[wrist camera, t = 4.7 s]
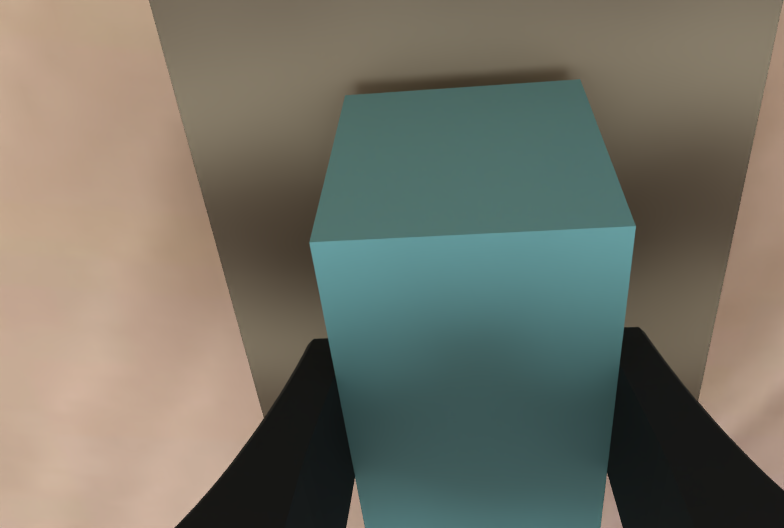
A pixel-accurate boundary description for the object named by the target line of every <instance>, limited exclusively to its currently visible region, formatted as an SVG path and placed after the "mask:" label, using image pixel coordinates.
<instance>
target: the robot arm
mask: <svg viewBox="0 0 784 528" xmlns="http://www.w3.org/2000/svg"><path fill="white" fill-rule="evenodd" d="M607 473H608V477H609V480H610V484H611V487H612V491H613V495H614V498H615V502H616V505H617V509H618V512H619V516H620V519H621V523H622V526H623V528H784V490H783V489H782V488H780V487H779V486H778V485H777V484H776V483H775V482H774V481H773V480H772V479H771V478H769V477H768V476H767V475H766V474H765V473H764V472H763V471H762V470H761V469H760V468H759V467H758V466H757V465H756V464H755V463H754V462H753V461H752V460H751V459H750V458H749V457H748V456H747V455H746V454H745V453H744V452H743V451H742V450H741V449H740V448H739V447H738V446H737V445H736V443H735V442H734V441H733V440H732V439H731V438H730V437H729V436H728V435H727V434H726V433H725V432H724V431H723V430H722V429H721V427H720V426H719V425H718V424H717V423H716V422H715V421H714V420H713V418H712V417H711V416H710V415H709V414H708V413H707V412H706V410H705V409H704V408H703V407H702V406H701V405H700V403H699V402H698V401H697V400H696V399H695V398H694V396H693V395H692V394H691V393H690V392H689V390H688V389H687V388H686V387H685V385H684V384H683V383H682V382H681V380H680V379H679V378H678V377H677V375H676V374H675V373H674V371H673V370H672V369H671V368H670V366H669V365H668V364H667V362H666V361H665V360H664V358H663V357H662V356H661V354H660V353H659V352H658V350H657V349H656V347H655V346H654V345H653V343H652V342H651V341H650V339H649V338H648V336H647V335H646V333H645V332H644V331H643V330H642V329H641V328H640V327H624V331H623V340H622V348H621V357H620V365H619V374H618V382H617V391H616V399H615V408H614V416H613V425H612V433H611V442H610V450H609V459H608V467H607ZM354 479H355V474H354V468H353V463H352V458H351V453H350V448H349V443H348V438H347V433H346V427H345V422H344V417H343V412H342V407H341V402H340V397H339V392H338V387H337V381H336V376H335V371H334V366H333V361H332V356H331V351H330V346H329V340H328V338H319V339H313V340H312V341H311V342H310V343H309V344H308V346H307V347H306V349H305V351H304V353H303V355H302V357H301V359H300V360H299V362H298V364H297V366H296V368H295V369H294V371H293V373H292V374H291V376H290V378H289V380H288V381H287V383H286V385H285V386H284V388H283V389H282V391H281V393H280V394H279V396H278V397H277V399H276V401H275V402H274V404H273V405H272V407H271V408H270V410H269V411H268V413H267V414H266V416H265V417H264V419H263V420H262V422H261V423H260V425H259V426H258V428H257V429H256V431H255V432H254V433H253V435H252V436H251V437H250V439H249V440H248V442H247V443H246V444H245V446H244V447H243V448H242V450H241V451H240V452H239V454H238V455H237V456H236V458H235V459H234V460H233V462H232V463H231V464H230V466H229V467H228V468H227V469H226V471H225V472H224V473H223V474H222V476H221V477H220V478H219V479H218V481H217V482H216V483H215V484H214V485H213V486H212V488H211V489H210V490H209V491H208V492H207V493H206V495H205V496H204V497H203V498H202V499H201V500H200V501H199V503H198V504H197V505H196V506H195V507H194V508H193V509H192V510H191V511H190V512H189V513H188V514H187V515H186V516H185V517H184V519H183V520H182V521H181V522H180V523H179V524H178V525H177V526H176V527H175V528H346V525H347V520H348V514H349V508H350V503H351V497H352V491H353V485H354Z"/></svg>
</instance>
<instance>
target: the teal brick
mask: <svg viewBox="0 0 784 528" xmlns="http://www.w3.org/2000/svg"><path fill="white" fill-rule="evenodd" d="M635 230H636V225H635V223H634V220H633V217H632V215H631V212H630V209H629V207H628V204H627V201H626V199H625V196H624V193H623V191H622V188H621V186H620V183H619V180H618V178H617V175H616V172H615V170H614V167H613V164H612V162H611V159H610V156H609V154H608V151H607V149H606V146H605V143H604V141H603V138H602V135H601V133H600V130H599V127H598V125H597V122H596V119H595V117H594V114H593V112H592V109H591V106H590V104H589V101H588V98H587V96H586V93H585V90H584V88H583V85H582V83H581V80H580V79H576V80H561V81H547V82H532V83H518V84H503V85H488V86H474V87H459V88H445V89H430V90H415V91H401V92H386V93H372V94H357V95H345V98H344V102H343V106H342V110H341V114H340V118H339V122H338V127H337V131H336V135H335V139H334V143H333V147H332V151H331V155H330V159H329V164H328V168H327V172H326V176H325V180H324V184H323V188H322V192H321V196H320V201H319V205H318V209H317V213H316V217H315V221H314V225H313V229H312V233H311V238H310V242H309V243H310V248H311V253H312V259H313V264H314V269H315V274H316V279H317V284H318V289H319V294H320V299H321V305H322V310H323V315H324V320H325V325H326V330H327V335H328V340H329V346H330V351H331V356H332V361H333V366H334V371H335V376H336V381H337V387H338V392H339V397H340V402H341V407H342V412H343V417H344V422H345V427H346V433H347V438H348V443H349V448H350V453H351V458H352V463H353V468H354V474H355V479H356V484H357V489H358V494H359V499H360V504H361V509H362V514H363V520H364V525H365V528H600V527H601V518H602V510H603V501H604V493H605V484H606V476H607V467H608V459H609V450H610V442H611V433H612V425H613V416H614V408H615V399H616V391H617V382H618V374H619V365H620V357H621V348H622V340H623V331H624V323H625V314H626V306H627V297H628V289H629V280H630V272H631V264H632V255H633V247H634V238H635Z"/></svg>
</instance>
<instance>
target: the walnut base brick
mask: <svg viewBox="0 0 784 528" xmlns="http://www.w3.org/2000/svg"><path fill="white" fill-rule="evenodd" d="M149 2H150V6H151V10H152V13H153V17H154V21H155V24H156V28H157V31H158V35H159V39H160V42H161V46H162V50H163V53H164V57H165V61H166V64H167V68H168V71H169V75H170V79H171V82H172V86H173V90H174V93H175V97H176V100H177V104H178V108H179V111H180V115H181V119H182V122H183V126H184V130H185V133H186V137H187V140H188V144H189V148H190V151H191V155H192V159H193V162H194V166H195V169H196V173H197V177H198V180H199V184H200V188H201V191H202V195H203V199H204V202H205V206H206V209H207V213H208V217H209V220H210V224H211V228H212V231H213V235H214V238H215V242H216V246H217V249H218V253H219V257H220V260H221V264H222V268H223V271H224V275H225V278H226V282H227V286H228V289H229V293H230V297H231V300H232V304H233V307H234V311H235V315H236V318H237V322H238V326H239V329H240V333H241V337H242V340H243V344H244V347H245V351H246V355H247V358H248V362H249V366H250V369H251V373H252V376H253V380H254V384H255V387H256V391H257V395H258V398H259V402H260V406H261V409H262V413H263V416H264V417H265V416H266V414H267V413H268V411H269V410H270V408H271V407H272V405H273V404H274V402H275V401H276V399H277V397H278V396H279V394H280V393H281V391H282V389H283V388H284V386H285V385H286V383H287V381H288V380H289V378H290V376H291V374H292V373H293V371H294V369H295V368H296V366H297V364H298V362H299V360H300V359H301V357H302V355H303V353H304V351H305V349H306V347H307V346H308V344H309V343H310V342H311V341H312V340H313V339H319V338H328V335H327V330H326V325H325V320H324V315H323V310H322V305H321V299H320V294H319V289H318V284H317V279H316V274H315V269H314V264H313V259H312V253H311V248H310V243H309V242H310V238H311V233H312V229H313V225H314V221H315V217H316V213H317V209H318V205H319V201H320V196H321V192H322V188H323V184H324V180H325V176H326V172H327V168H328V164H329V159H330V155H331V151H332V147H333V143H334V139H335V135H336V131H337V127H338V122H339V118H340V114H341V110H342V106H343V102H344V98H345V95H357V94H372V93H386V92H401V91H415V90H430V89H445V88H459V87H474V86H488V85H503V84H518V83H532V82H547V81H561V80H576V79H580V80H581V83H582V85H583V88H584V90H585V93H586V96H587V98H588V101H589V104H590V106H591V109H592V112H593V114H594V117H595V119H596V122H597V125H598V127H599V130H600V133H601V135H602V138H603V141H604V143H605V146H606V149H607V151H608V154H609V156H610V159H611V162H612V164H613V167H614V170H615V172H616V175H617V178H618V180H619V183H620V186H621V188H622V191H623V193H624V196H625V199H626V201H627V204H628V207H629V209H630V212H631V215H632V217H633V220H634V223H635V225H636V230H635V238H634V247H633V255H632V264H631V272H630V280H629V289H628V297H627V306H626V314H625V323H624V327H640V328H641V329H642V330H643V331H644V332H645V333H646V335H647V336H648V338H649V339H650V341H651V342H652V343H653V345H654V346H655V347H656V349H657V350H658V352H659V353H660V354H661V356H662V357H663V358H664V360H665V361H666V362H667V364H668V365H669V366H670V368H671V369H672V370H673V371H674V373H675V374H676V375H677V377H678V378H679V379H680V380H681V382H682V383H683V384H684V385H685V387H686V388H687V389H688V390H689V392H690V393H691V394H692V395H693V396H694V398H695V399H696V400H697V401H698V398H699V394H700V389H701V384H702V379H703V375H704V370H705V365H706V361H707V356H708V351H709V347H710V342H711V337H712V332H713V328H714V323H715V318H716V314H717V309H718V304H719V299H720V295H721V290H722V285H723V281H724V276H725V271H726V267H727V262H728V257H729V252H730V248H731V243H732V238H733V234H734V229H735V224H736V219H737V215H738V210H739V205H740V201H741V196H742V191H743V187H744V182H745V177H746V172H747V168H748V163H749V158H750V154H751V149H752V144H753V139H754V135H755V130H756V125H757V121H758V116H759V111H760V107H761V102H762V97H763V92H764V88H765V83H766V78H767V74H768V69H769V64H770V60H771V55H772V50H773V45H774V41H775V36H776V31H777V27H778V22H779V17H780V12H781V8H782V3H783V0H149Z"/></svg>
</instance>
